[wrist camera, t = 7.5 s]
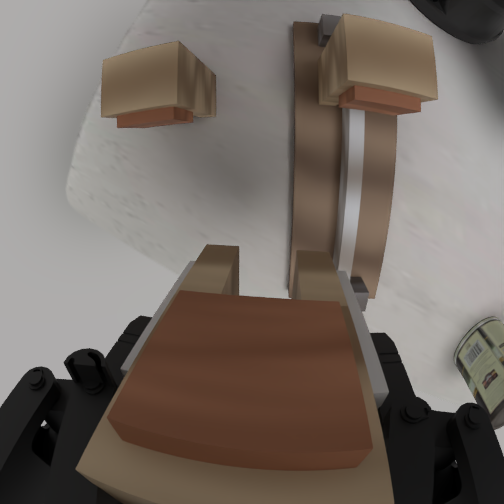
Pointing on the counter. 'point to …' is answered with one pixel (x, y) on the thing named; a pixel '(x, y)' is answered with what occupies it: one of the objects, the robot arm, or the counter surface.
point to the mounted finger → (377, 67)
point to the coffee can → (484, 366)
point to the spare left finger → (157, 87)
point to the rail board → (339, 172)
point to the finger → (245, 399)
